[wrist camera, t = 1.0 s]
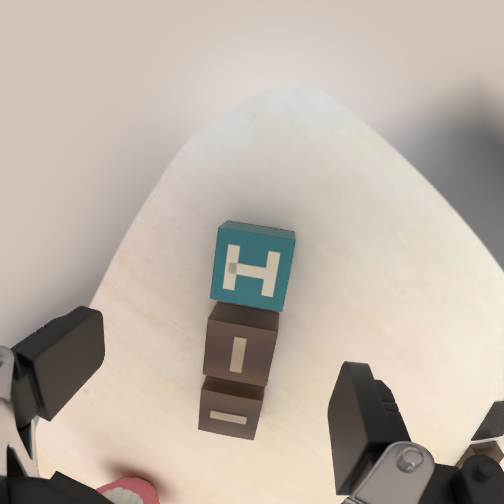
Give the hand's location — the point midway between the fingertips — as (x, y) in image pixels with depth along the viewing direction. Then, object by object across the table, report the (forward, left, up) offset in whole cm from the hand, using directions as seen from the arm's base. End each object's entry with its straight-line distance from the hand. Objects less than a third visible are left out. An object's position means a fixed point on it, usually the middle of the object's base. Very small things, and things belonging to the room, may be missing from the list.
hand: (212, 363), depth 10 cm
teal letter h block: (0, 0, -13) cm, 13 cm away
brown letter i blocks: (+9, 0, -13) cm, 16 cm away
